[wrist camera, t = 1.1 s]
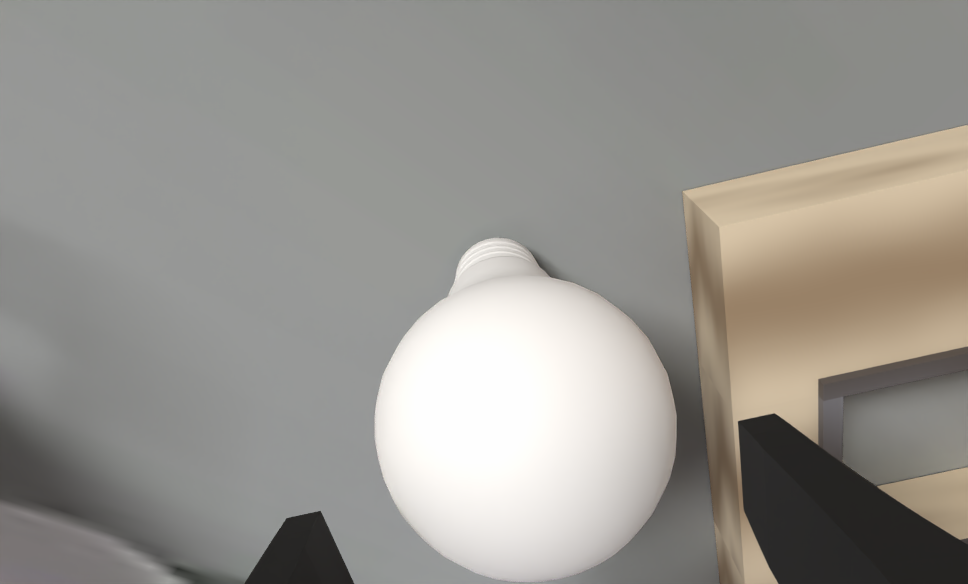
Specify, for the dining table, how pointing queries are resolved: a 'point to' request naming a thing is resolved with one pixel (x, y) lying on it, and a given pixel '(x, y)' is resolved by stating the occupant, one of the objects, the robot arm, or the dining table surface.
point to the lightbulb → (524, 422)
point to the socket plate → (828, 309)
